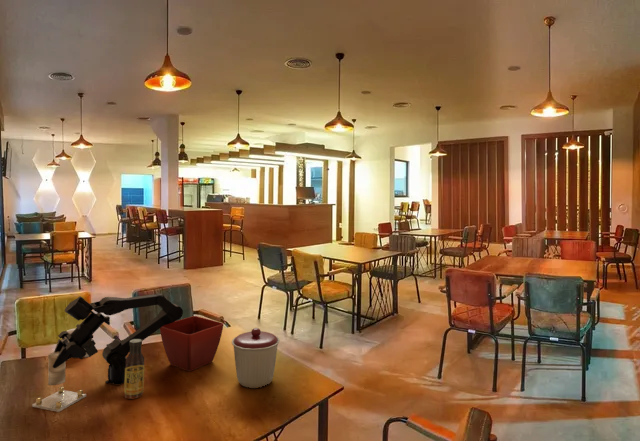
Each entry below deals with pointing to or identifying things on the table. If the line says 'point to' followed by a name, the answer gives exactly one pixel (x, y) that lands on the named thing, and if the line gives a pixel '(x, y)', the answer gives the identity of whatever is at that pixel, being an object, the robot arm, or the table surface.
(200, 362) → the plant pot
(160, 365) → the table surface
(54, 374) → the maple peg
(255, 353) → the canister
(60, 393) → the base plate
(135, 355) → the sauce bottle
